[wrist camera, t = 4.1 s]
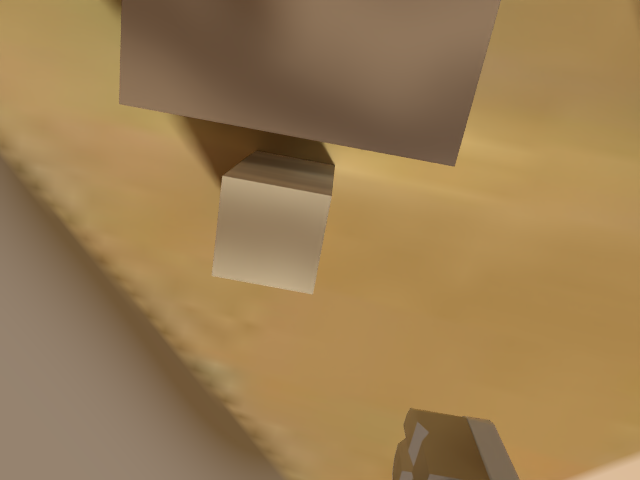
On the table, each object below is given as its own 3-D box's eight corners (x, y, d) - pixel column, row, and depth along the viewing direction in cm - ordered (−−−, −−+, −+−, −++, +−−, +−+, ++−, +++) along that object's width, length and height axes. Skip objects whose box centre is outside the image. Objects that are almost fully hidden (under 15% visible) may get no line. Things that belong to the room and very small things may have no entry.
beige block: (255, 150, 22) (222, 175, 16) (334, 165, 22) (331, 196, 16) (246, 225, 24) (211, 275, 17) (320, 239, 24) (312, 294, 18)
